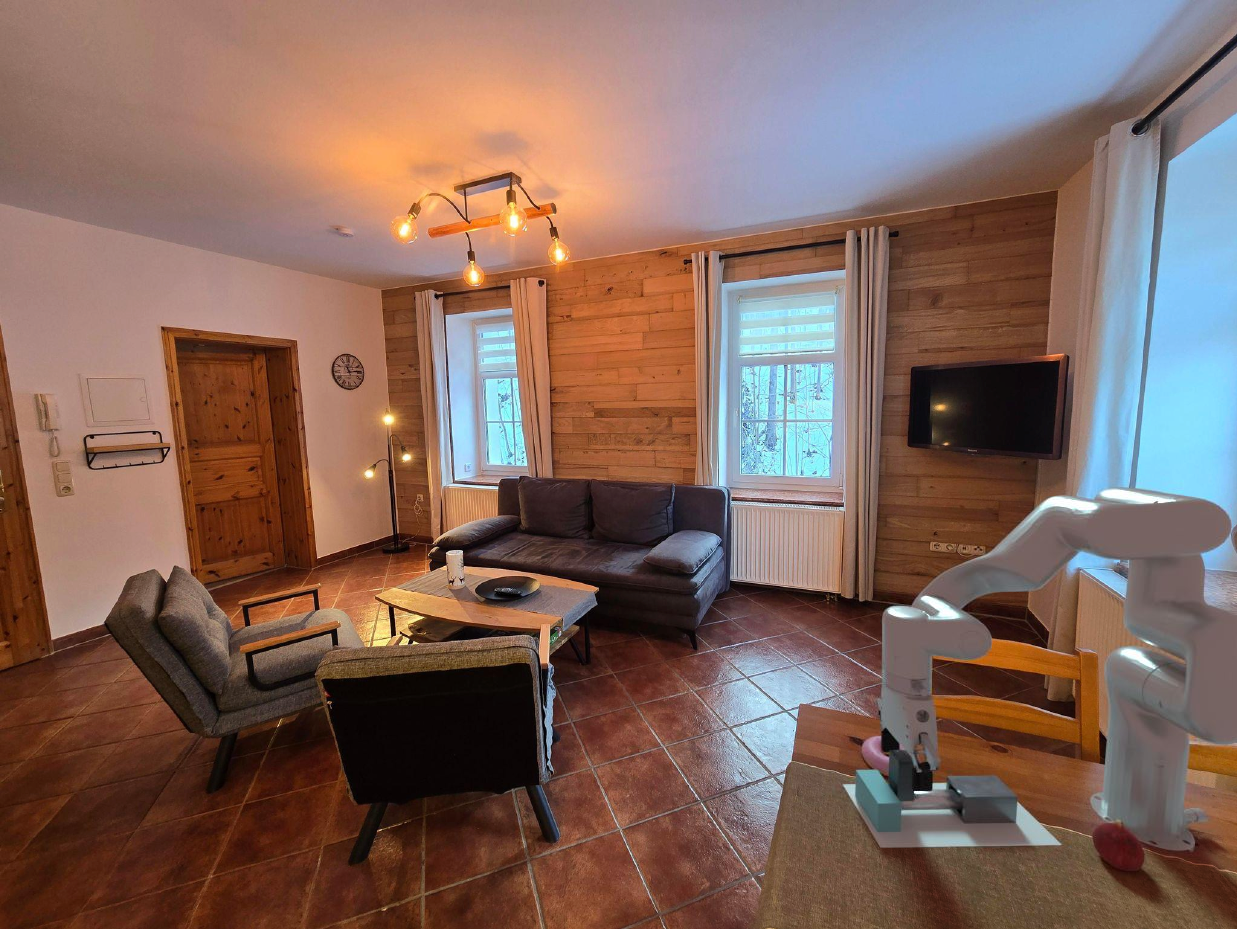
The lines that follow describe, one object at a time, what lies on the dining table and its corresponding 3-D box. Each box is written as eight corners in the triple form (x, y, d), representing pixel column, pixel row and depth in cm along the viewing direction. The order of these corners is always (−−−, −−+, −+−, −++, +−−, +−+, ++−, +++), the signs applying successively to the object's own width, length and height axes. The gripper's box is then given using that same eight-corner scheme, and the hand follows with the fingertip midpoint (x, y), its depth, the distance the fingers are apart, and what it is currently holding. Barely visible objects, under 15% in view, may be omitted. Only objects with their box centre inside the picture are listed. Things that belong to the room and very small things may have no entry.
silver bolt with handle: (975, 800, 89) (978, 748, 88) (987, 813, 86) (990, 760, 85) (871, 801, 90) (872, 750, 89) (879, 814, 87) (881, 762, 86)
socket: (876, 795, 92) (877, 769, 92) (900, 831, 84) (901, 803, 84) (855, 796, 92) (855, 770, 92) (877, 832, 84) (878, 803, 84)
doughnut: (866, 780, 98) (867, 760, 98) (856, 744, 108) (857, 727, 108) (928, 791, 95) (929, 771, 94) (912, 753, 105) (913, 735, 105)
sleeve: (994, 800, 90) (995, 775, 90) (1016, 822, 85) (1017, 796, 85) (945, 801, 91) (946, 776, 90) (964, 823, 86) (965, 797, 85)
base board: (997, 787, 95) (997, 782, 95) (1061, 851, 81) (1062, 845, 81) (842, 790, 95) (842, 784, 95) (880, 853, 81) (880, 847, 81)
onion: (1153, 888, 75) (1158, 840, 74) (1109, 881, 76) (1113, 834, 75) (1122, 854, 80) (1126, 809, 80) (1081, 849, 81) (1085, 804, 81)
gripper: (961, 706, 77) (959, 807, 79) (899, 654, 94) (899, 737, 96) (914, 708, 77) (912, 809, 79) (860, 655, 94) (860, 738, 96)
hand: (905, 769), depth 87 cm, fingers open, 9 cm apart
